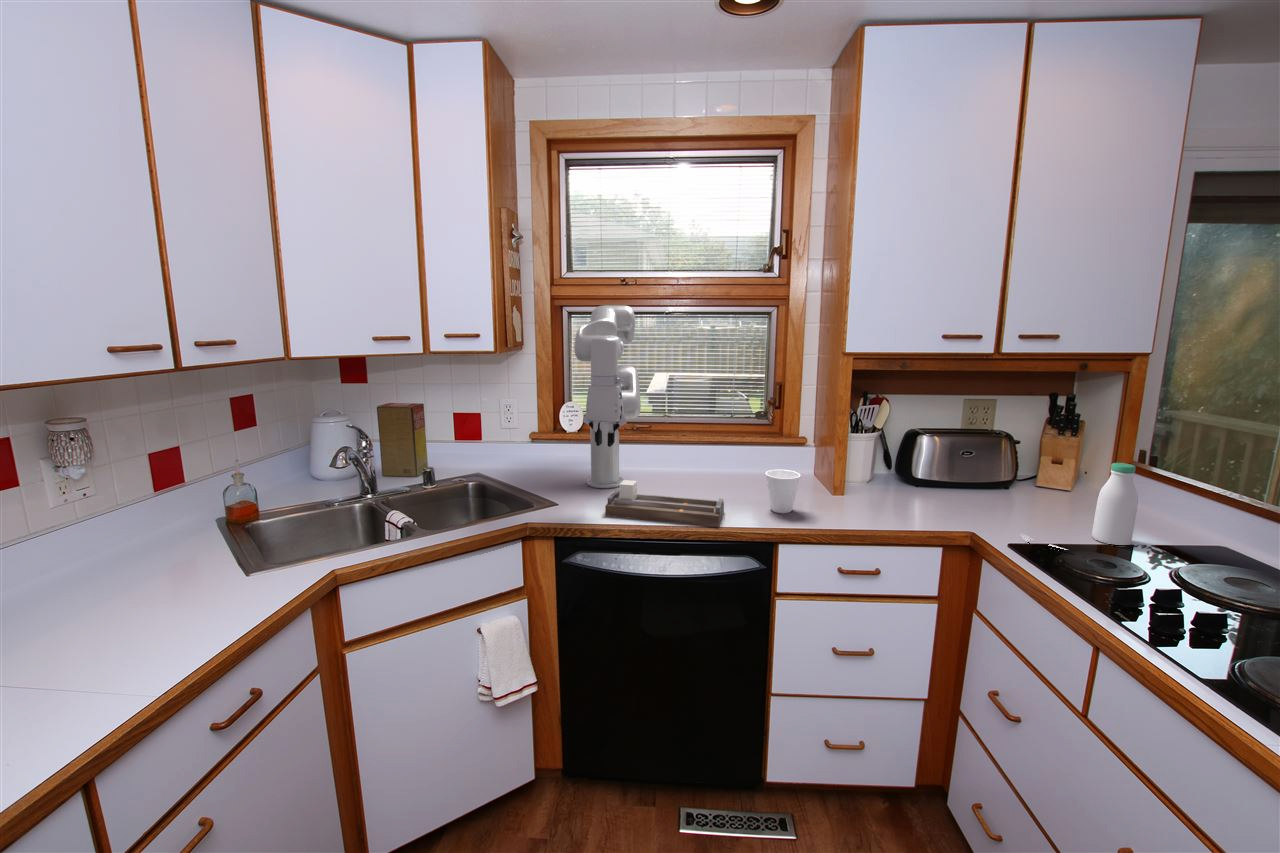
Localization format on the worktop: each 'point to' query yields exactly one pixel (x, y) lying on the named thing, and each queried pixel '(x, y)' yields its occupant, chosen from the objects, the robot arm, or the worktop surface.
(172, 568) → the worktop surface
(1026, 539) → the fork
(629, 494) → the fader tab
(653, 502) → the fader console
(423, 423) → the food packaging
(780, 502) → the cup
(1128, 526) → the milk bottle
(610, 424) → the robot arm
